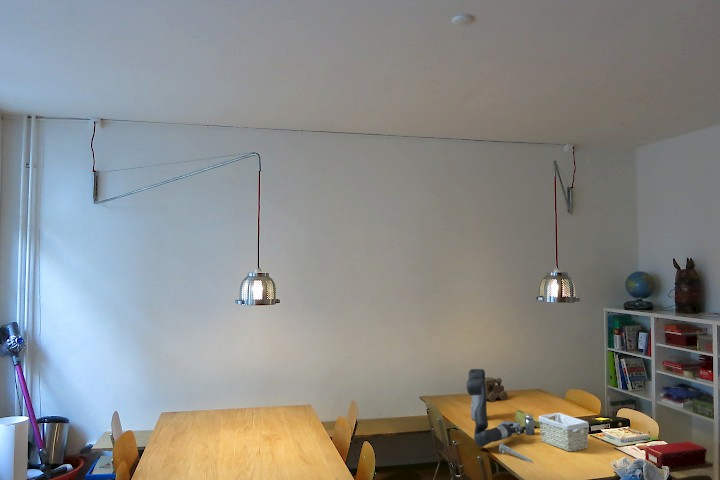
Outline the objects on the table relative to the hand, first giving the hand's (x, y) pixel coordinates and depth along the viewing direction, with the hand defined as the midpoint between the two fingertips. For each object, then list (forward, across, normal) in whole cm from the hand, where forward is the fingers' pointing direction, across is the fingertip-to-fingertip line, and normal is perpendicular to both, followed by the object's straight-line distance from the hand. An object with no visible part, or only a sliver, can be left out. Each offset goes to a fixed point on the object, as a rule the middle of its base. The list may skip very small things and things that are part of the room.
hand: (518, 426), depth 316 cm
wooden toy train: (+65, +68, +7) cm, 94 cm away
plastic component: (+27, +13, +7) cm, 31 cm away
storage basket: (+8, -25, +7) cm, 27 cm away
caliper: (-29, -18, +7) cm, 35 cm away
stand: (+7, +12, +6) cm, 16 cm away
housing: (+11, 0, +6) cm, 13 cm away
